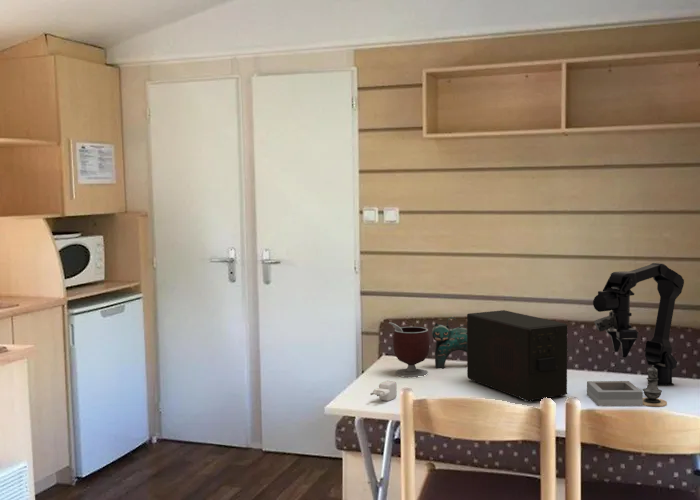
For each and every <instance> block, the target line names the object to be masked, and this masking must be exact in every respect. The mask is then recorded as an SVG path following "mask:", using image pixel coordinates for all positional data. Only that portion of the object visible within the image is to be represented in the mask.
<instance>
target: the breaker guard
mask: <svg viewBox="0 0 700 500" xmlns="http://www.w3.org/2000/svg"><path fill="white" fill-rule="evenodd" d="M586 395H587V396H588V398H590V399H591V400H592V401H593V402H594V403H595V404H596V405H597V406H598V407H604V406H606V407H607V406H609V407H610V406H611V407H614V406H615V407H621V406H622V407H635V406H637V407H639V406H641V407H642V406H644V405H643V398H644V391H643V390H641V389H640V388H638V387H637V386H636V385H635V384H633V383H632V382H631V381H630V380H619V381H618V380H606V381H605V380H600V381H599V380H598V381H597V380H589V381H587V380H586Z"/></svg>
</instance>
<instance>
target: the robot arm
mask: <svg viewBox="0 0 700 500" xmlns="http://www.w3.org/2000/svg"><path fill="white" fill-rule="evenodd" d="M649 279H653V280H654V281H655V282H656V284H657V286H656V287H657V288H656V289H657V292H658V295H659V296H660V297H659V305H658V309H657V316H656V319H655V320H656V321H655V327H654V331H653V332H654V333H653V337H652V338H651V339H650V340H646V341H645V349H644V356H645V359H646V363H647V365H648V366H651V367H652V365H654V368H656V369H657V378H658V379H659V380H658V381H657V385H658V386H674V385H675V384H674V383H673V370H674V369H675V368H677V365H678V361H677V359H676V358H675V357H674V355H673V354H672V351H673V350H672V349H673V347H672V345H671V342H670V332H671V327H672V321H673V317H674V316H673V315H674V309H675V302H676V301H677V298H679V296H680V295H681V294H682V292H683V288H684V285H685V279H684V278H683V276H682V275H681V274H679V273H678V272H676V271H674V270H672V269H671V268H669V267H668V266H667V265H666V264H664V263H660V262H653V263H650V264H648V265H645V266H642V267H638V268H635V269H632V270H629V271H628V270H627V271H625V270H624V271H612V272H610V276H609V278H608V280H607V281H606V284H605V285H604V287H603V289H602V290H599V291H597V295H595V296H594V298H593V301H592V304H593V308H594V309H595V311H597V312H599V313H601V312H609V315H607V316H604V317H601V318H597V319H596V320H594V321H593V322H594V325H595V328H596V330H597V331H599V332H604V331H605V332H606V333H607V334H608V335H609V337H610V339H611V342H612V347H613V351H614V352H615V353H617V352H619V350H620V348H621V355H622V358H627V357H628V355H629V353H630V351H631V349H632V347H633V345H634V343H635V342H636V341H637V340H638V339H639V332H638V330H636V329H635V328H633V327H632V324H630V317H632V312H631V311H630V310H631V308H630V307H631V304H630V303H631V296H635V293H634V291H632V290H631V289H633V288H635V287H636V286H637V285H638V283H640V282H644V281H647V280H649ZM651 367H650V368H651Z"/></svg>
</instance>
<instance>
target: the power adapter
mask: <svg viewBox="0 0 700 500" xmlns="http://www.w3.org/2000/svg"><path fill="white" fill-rule="evenodd" d="M397 392H398V391H397V382H396V381H394V380H385V381H383V382H380V383H379V384H378V388H375V389H374V390H373V391H372V392H370V396H373V395H374V396H377V397H378V398H379V400H381V401H384V402H389V401H392V400H394V399H396V398H397V397H398V396H397V395H398V394H397Z"/></svg>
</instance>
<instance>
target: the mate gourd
mask: <svg viewBox="0 0 700 500" xmlns="http://www.w3.org/2000/svg"><path fill="white" fill-rule="evenodd" d="M388 325H391V326H392V327H394V331H393V336H392V337H393V338H392V341H393V342H392V345H393V352H394V356H395V357H396V358H397V360H398V361H400V362H401V363H404V364H406V365H407V366H406V367H407V368H401V369H398V370H397V369H396V371H395V375H396V376H397V375H399V376H398V377H401V376H404V377H403V378H408V377H416V378H419V377H418V376H423V377H425V376H424V375H426V374H427V373H429V372H428V371H427V370H425V369H422V368H417V367H416V365H417V364H419V363H422V362H425V359H427V357H428V355H429V352H430V342H431V341H430V335H429V334H430V333H429V328H426V327H422V326H401V327H400V326H399V325H397V324H396V323H394V322H390V321H389V322H388ZM427 375H428V374H427ZM427 375H426V376H427Z"/></svg>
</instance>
